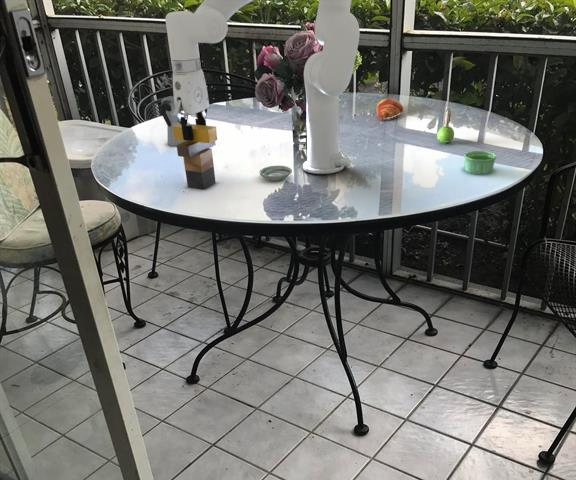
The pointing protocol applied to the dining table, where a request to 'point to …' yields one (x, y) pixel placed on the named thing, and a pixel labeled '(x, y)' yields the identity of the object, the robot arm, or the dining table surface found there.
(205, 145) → the lower bar
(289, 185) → the dining table surface
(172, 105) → the coffee maker
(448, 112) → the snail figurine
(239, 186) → the dining table surface
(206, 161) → the tower
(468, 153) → the ramekin
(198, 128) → the top bar
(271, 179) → the saucer
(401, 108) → the croissant
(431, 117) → the dining table surface
